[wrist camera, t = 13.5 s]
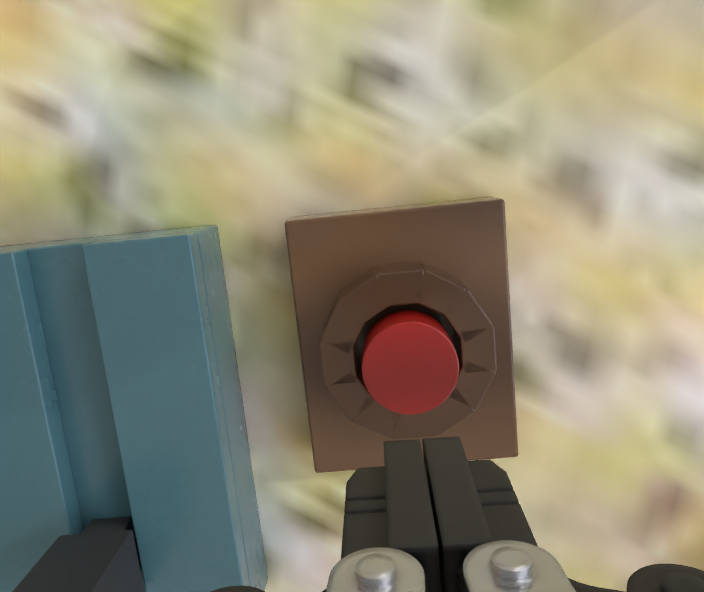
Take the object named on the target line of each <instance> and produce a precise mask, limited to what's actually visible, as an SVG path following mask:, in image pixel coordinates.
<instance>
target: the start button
mask: <svg viewBox="0 0 704 592" xmlns="http://www.w3.org/2000/svg"><path fill="white" fill-rule="evenodd" d="M458 375H459V360H458V356H457V352H456V350H455V348H454V346H453V343H452V341H451V339H450V337H449V335H448V333H447V331H446V330H445V328H444V327H443V326H442V325H441V324H440V323H439V322H438V321H437V320H436V319H434V318H433V317H431V316H429V315H427V314H425V313H422V312H418V311H411V310H403V311H397V312H394V313H391V314H389V315H386V316H385V317H383V318H381V319H380V320H379V321H378V322H376V323H375V324H374V325H373V327H372V328H371V329H370V331H369V332H368V334H367V336H366V338H365V341H364V344H363V350H362V377H363V381H364V384H365V386H366V389H367V391H368V392H369V394H370V395H371V396H372V398H373V399H374V400H375V401H376V402H377V403H379V404H380V405H381V406H383V407H384V408H386V409H388V410H390V411H393V412H396V413H400V414H408V415H410V414H420V413H424V412H427V411H430V410H432V409H434V408H436V407H437V406H439V405H440V404H442V403H443V402H444V401H445V400H446V399H447V398H448V397H449V395H450V394H451V393H452V391H453V389H454V387H455V385H456V383H457V379H458Z"/></svg>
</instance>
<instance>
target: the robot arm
mask: <svg viewBox="0 0 704 592" xmlns="http://www.w3.org/2000/svg"><path fill="white" fill-rule="evenodd" d="M383 443H384V465H385V466H380V467H364V468H358V469H357V470H356V471H355V473H354V474H353V475H352V476H351V477H350V479H349V480H348V481H347V484H346V501H345V515H344V525H343V539H342V553H341V560H340V561H339V562H338V563H337V564H336V565H335V566H334V567H333V569H332V571H331V573H330V576H329V580H328V585H327V588H326V589H325V590H324V591H323V592H623V591H617V590H611V589H605V588H599V587H594V586H589V585H586V584H582V583H579V582H576V581H574V580H572V579H569V578H567V576H566V574H565V572H564V571H563V569H562V567H561V566H560V564H559V563H558V561H557V560H556V559H555V558H554V557H553V556H552V555H551V554H550V553H548V552H547V551H545V550H544V549H542V548H540V547H538V546H537V543H536V541H535V539H534V536H533V534H532V532H531V529H530V527H529V525H528V522H527V520H526V518H525V515H524V513H523V511H522V508H521V506H520V504H519V503H518V499H517V497H516V494H515V492H514V491H513V487H512V485H511V483H510V480H509V478H508V476H507V473H506V472H505V471H504V470H502V469H501V468H500V467H499V466H497V465H496V464H495V463H493V462H492V461H491V460H474V461H467V458H466V455H465V452H464V449H463V445H462V442H461V439H460V437H459V436H456V437H440V438H425V439H423V441H422V443H423V455H422V449H421V443H420V439H411V440H396V441H383ZM210 592H265V591H263V590H261V589H259V588H255V587H252V586H243V585H240V586H228V587H223V588H219V589H216V590H213V591H210ZM627 592H704V571H702V570H699V569H696V568H692V567H688V566H683V565H676V564H655V565H650V566H646V567H643V568H641V569H639V570H637V571H636V572H634V573H633V574H632V575H631V576H630V578H629V580H628V583H627Z"/></svg>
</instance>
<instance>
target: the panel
mask: <svg viewBox="0 0 704 592" xmlns="http://www.w3.org/2000/svg"><path fill="white" fill-rule="evenodd" d="M285 231H286V239H287V247H288V255H289V263H290V271H291V280H292V288H293V296H294V304H295V312H296V320H297V328H298V336H299V345H300V353H301V361H302V369H303V377H304V385H305V393H306V402H307V410H308V418H309V426H310V434H311V442H312V450H313V459H314V467H315V471H316V472H317V473H320V472H332V471H344V470H357V469H358V468H364V467H380V466H385V465H384V443H383V441H396V440H411V439H420V443H421V449H422V455H423V443H422V441H423V439H425V438H440V437H456V436H459V437H460V439H461V442H462V445H463V449H464V452H465V455H466V458H467V461H468V460H480V459H493V458H505V457H516V456H518V441H517V423H516V405H515V387H514V368H513V350H512V332H511V314H510V295H509V277H508V259H507V241H506V222H505V204H504V200H503V199H499V198H495V197H483V198H473V199H463V200H453V201H444V202H434V203H424V204H414V205H404V206H394V207H384V208H374V209H365V210H355V211H345V212H335V213H325V214H315V215H305V216H295V217H292V218H290V219H289V220H287V221H286V222H285ZM403 310H411V311H418V312H422V313H425V314H427V315H429V316H431V317H433V318H434V319H436V320H437V321H438V322H439V323H440V324H441V325H442V326H443V327H444V328H445V330H446V331H447V333H448V335H449V337H450V339H451V341H452V343H453V346H454V348H455V350H456V352H457V356H458V360H459V375H458V379H457V383H456V385H455V387H454V389H453V391H452V393H451V394H450V395H449V397H448V398H447V399H446V400H445V401H444V402H443V403H442V404H440V405H439V406H437V407H436V408H434V409H432V410H430V411H427V412H424V413H420V414H410V415H408V414H400V413H396V412H393V411H390V410H388V409H386V408H384V407H383V406H381V405H380V404H379V403H377V402H376V401H375V400H374V399H373V398H372V396H371V395H370V394H369V392H368V391H367V389H366V386H365V384H364V381H363V377H362V350H363V344H364V341H365V338H366V336H367V334H368V332H369V331H370V329H371V328H372V327H373V325H374V324H375V323H376V322H378V321H379V320H380V319H381V318H383V317H385V316H386V315H389V314H391V313H394V312H397V311H403Z"/></svg>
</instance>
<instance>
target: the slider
mask: <svg viewBox="0 0 704 592" xmlns="http://www.w3.org/2000/svg"><path fill="white" fill-rule="evenodd" d="M12 592H144V588H143V583H142V577H141V566H140V560H139V555H138V550H137V544H136V539H135V533H134V528H133V523H132V518H131V517H130V516H129V517H116V518H103V519H93V520H92V521H91V522H90V523H89V524H88V526H87V527H86V528H85V529H84V531H83V532H82V533H81V534H73V535H61V536H59V537H58V538H57V539H56V541H55V542H54V543H53V544H52V545H51V546H50V548H49V549H48V550H47V551H46V552H45V554H44V555H43V556H42V557H41V558H40V559H39V561H38V562H37V563H36V564H35V565H34V566H33V568H32V569H31V570H30V571H29V572H28V574H27V575H26V576H25V577H24V578H23V579H22V581H21V582H20V583H19V584H18V585H17V586H16V588H15V589H14V590H13V591H12Z"/></svg>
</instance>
